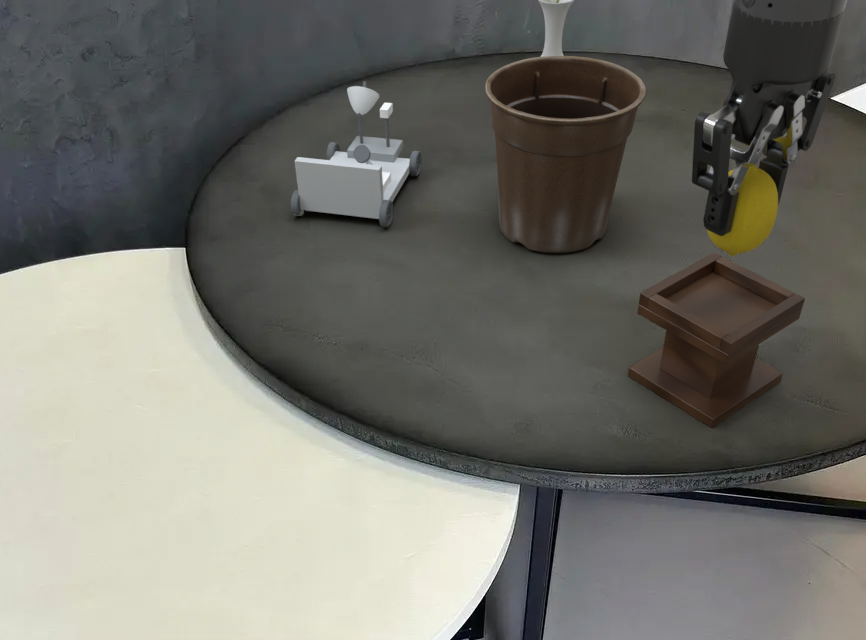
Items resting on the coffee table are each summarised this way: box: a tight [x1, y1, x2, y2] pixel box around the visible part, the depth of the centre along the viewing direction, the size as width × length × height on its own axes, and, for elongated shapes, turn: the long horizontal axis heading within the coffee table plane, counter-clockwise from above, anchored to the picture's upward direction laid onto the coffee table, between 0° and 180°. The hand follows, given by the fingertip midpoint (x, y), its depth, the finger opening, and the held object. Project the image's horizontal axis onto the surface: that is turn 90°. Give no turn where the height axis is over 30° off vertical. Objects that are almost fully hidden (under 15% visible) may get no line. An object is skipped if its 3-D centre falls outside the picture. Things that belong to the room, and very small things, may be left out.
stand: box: [627, 252, 806, 428], centre depth 89 cm, size 10×10×9 cm
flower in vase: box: [537, 0, 575, 57], centre depth 126 cm, size 13×11×25 cm
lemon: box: [706, 164, 779, 257], centre depth 80 cm, size 6×6×8 cm
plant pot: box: [484, 55, 646, 254], centre depth 107 cm, size 16×16×16 cm
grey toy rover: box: [290, 80, 423, 228], centre depth 117 cm, size 18×10×12 cm
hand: (740, 217), depth 81 cm, fingers closed on lemon, 5 cm apart
